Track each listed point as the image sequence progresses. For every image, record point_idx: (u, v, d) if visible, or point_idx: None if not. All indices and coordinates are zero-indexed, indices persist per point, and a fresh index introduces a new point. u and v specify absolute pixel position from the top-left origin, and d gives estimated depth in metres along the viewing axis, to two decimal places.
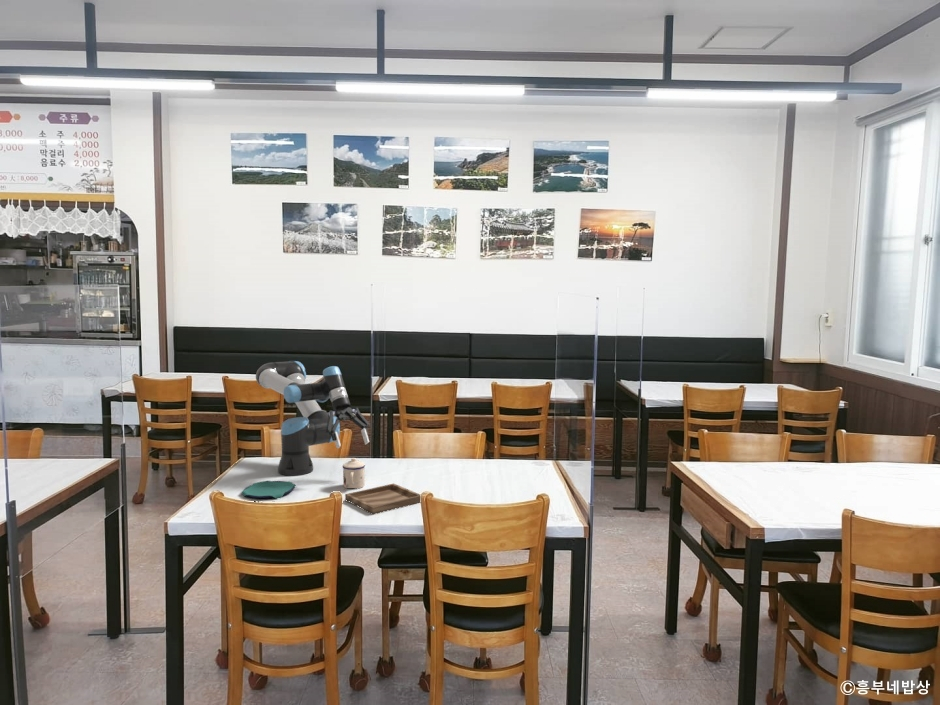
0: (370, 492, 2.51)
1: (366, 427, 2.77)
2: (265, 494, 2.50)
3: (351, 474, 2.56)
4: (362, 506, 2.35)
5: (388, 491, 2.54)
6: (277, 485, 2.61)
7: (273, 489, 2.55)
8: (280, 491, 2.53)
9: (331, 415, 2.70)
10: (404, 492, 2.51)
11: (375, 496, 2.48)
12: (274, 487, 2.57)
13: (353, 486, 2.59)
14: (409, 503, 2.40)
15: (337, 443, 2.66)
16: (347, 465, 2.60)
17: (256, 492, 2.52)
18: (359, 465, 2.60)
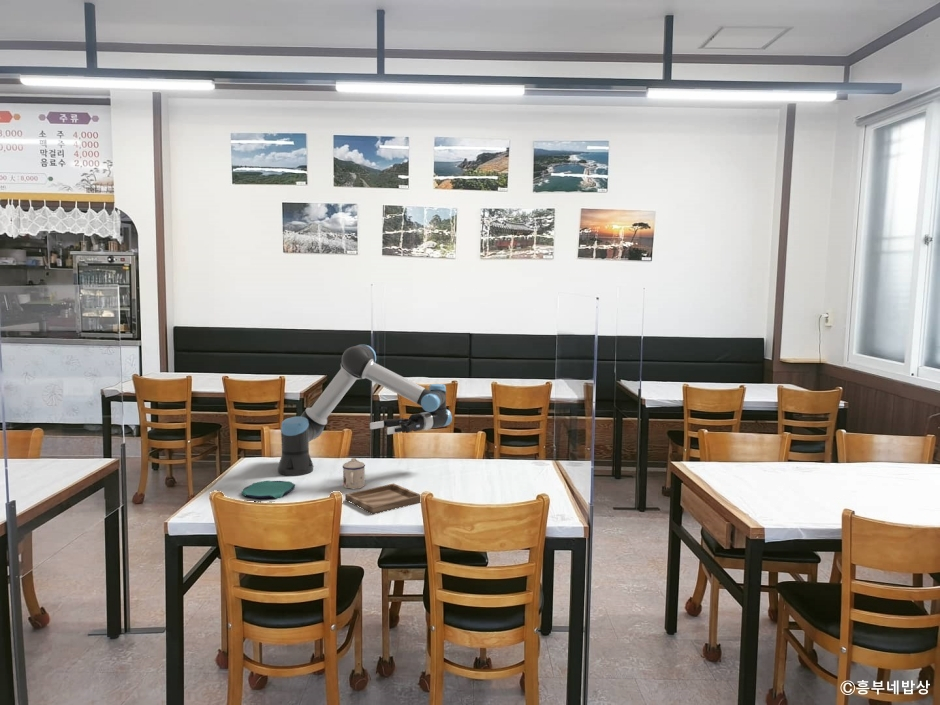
0: (370, 492, 2.51)
1: None
2: (265, 494, 2.50)
3: (351, 474, 2.56)
4: (362, 506, 2.35)
5: (388, 491, 2.54)
6: (277, 485, 2.61)
7: (273, 489, 2.56)
8: (279, 491, 2.53)
9: None
10: (404, 492, 2.51)
11: (375, 496, 2.48)
12: (274, 487, 2.58)
13: (353, 486, 2.59)
14: (409, 503, 2.40)
15: (391, 431, 2.63)
16: (347, 465, 2.60)
17: (256, 492, 2.52)
18: (359, 465, 2.60)
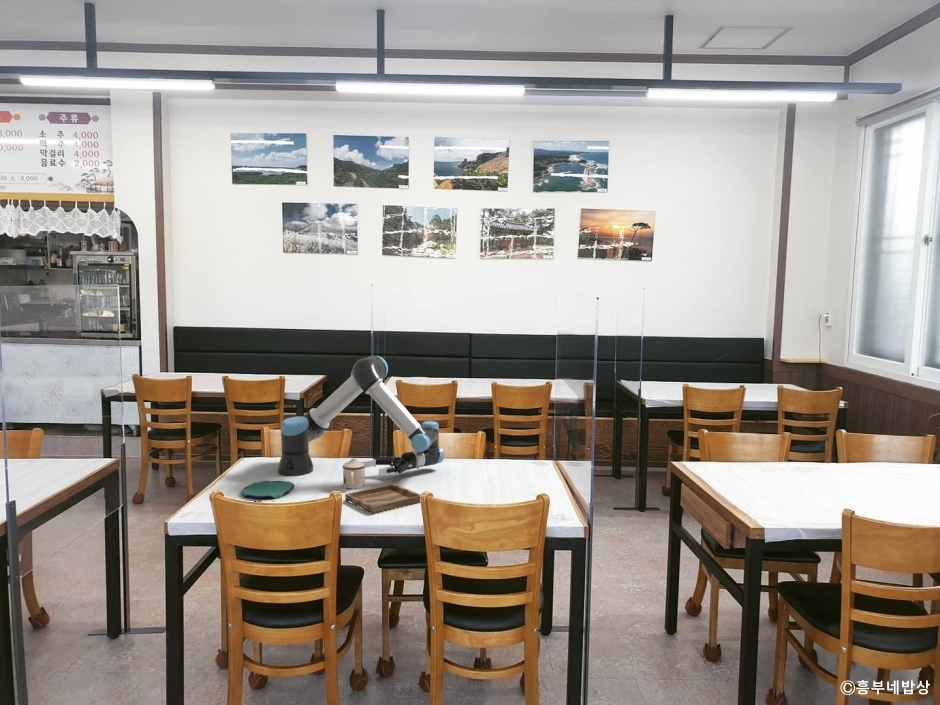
0: (370, 492, 2.51)
1: None
2: (264, 494, 2.50)
3: (351, 474, 2.56)
4: (362, 506, 2.35)
5: (388, 491, 2.54)
6: (276, 485, 2.61)
7: (272, 489, 2.56)
8: (279, 491, 2.53)
9: None
10: (404, 492, 2.51)
11: (375, 496, 2.48)
12: (273, 487, 2.58)
13: (353, 486, 2.59)
14: (409, 503, 2.40)
15: (383, 472, 2.62)
16: (347, 465, 2.60)
17: (256, 492, 2.52)
18: (359, 465, 2.60)
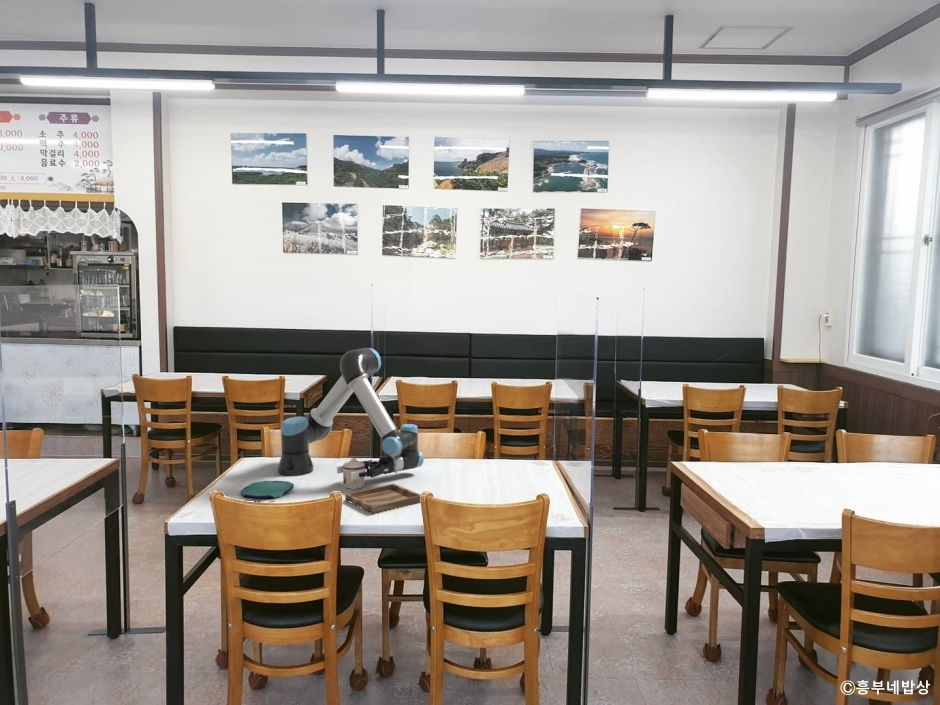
0: (370, 492, 2.51)
1: None
2: (264, 494, 2.50)
3: None
4: (362, 506, 2.35)
5: (388, 491, 2.54)
6: (275, 485, 2.61)
7: (272, 489, 2.56)
8: (279, 491, 2.53)
9: None
10: (404, 492, 2.51)
11: (375, 496, 2.48)
12: (273, 487, 2.58)
13: (353, 486, 2.59)
14: (409, 503, 2.40)
15: (355, 476, 2.55)
16: (347, 465, 2.60)
17: (255, 492, 2.52)
18: (359, 465, 2.60)
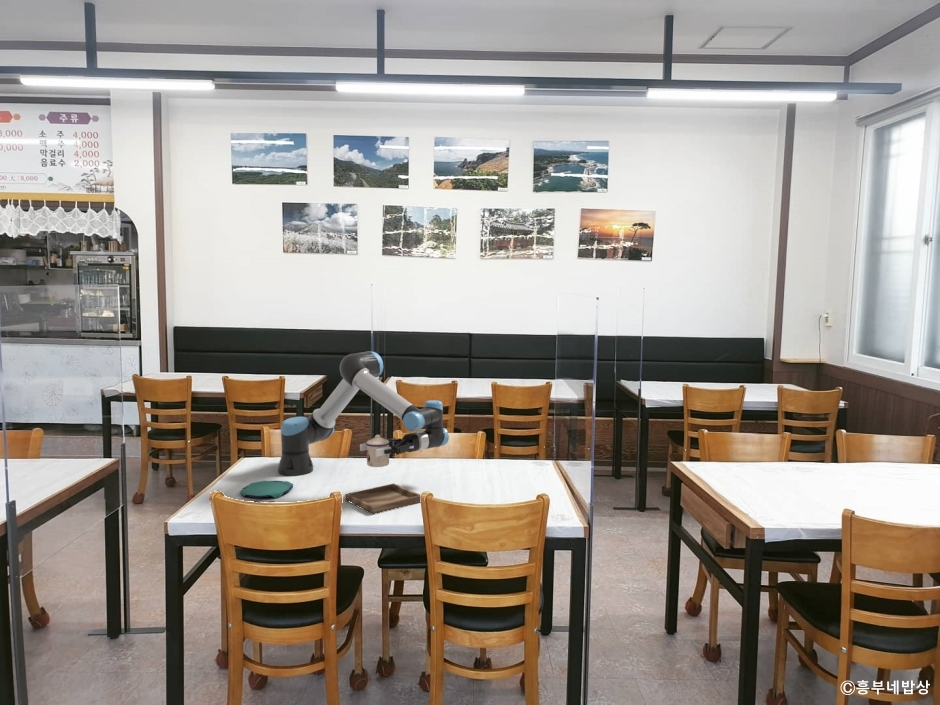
0: (370, 492, 2.51)
1: None
2: (264, 494, 2.50)
3: None
4: (362, 506, 2.35)
5: (388, 491, 2.54)
6: (275, 485, 2.61)
7: (271, 489, 2.56)
8: (278, 491, 2.54)
9: (408, 450, 2.51)
10: (404, 492, 2.51)
11: (375, 496, 2.48)
12: (272, 487, 2.58)
13: (378, 464, 2.46)
14: (409, 503, 2.40)
15: (380, 453, 2.43)
16: (371, 442, 2.47)
17: (254, 492, 2.52)
18: (384, 442, 2.47)
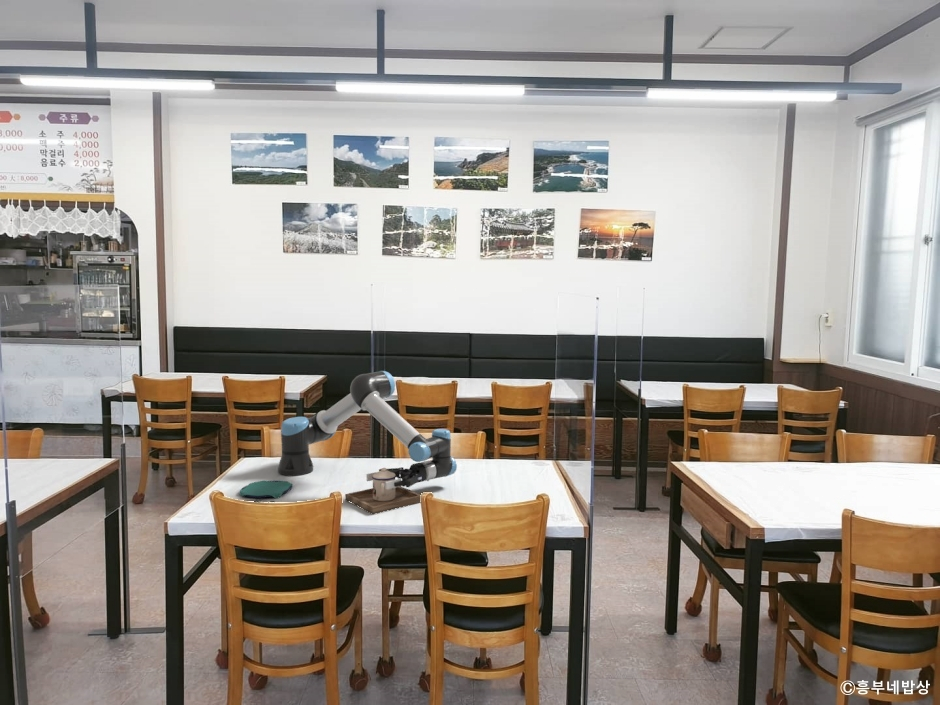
0: (370, 492, 2.51)
1: None
2: (263, 494, 2.50)
3: (382, 485, 2.39)
4: (362, 506, 2.35)
5: None
6: (274, 485, 2.61)
7: (270, 489, 2.56)
8: (277, 491, 2.54)
9: None
10: (404, 492, 2.51)
11: None
12: (271, 487, 2.58)
13: (384, 498, 2.42)
14: (409, 503, 2.40)
15: (390, 486, 2.37)
16: (377, 476, 2.42)
17: (254, 492, 2.52)
18: (390, 475, 2.43)
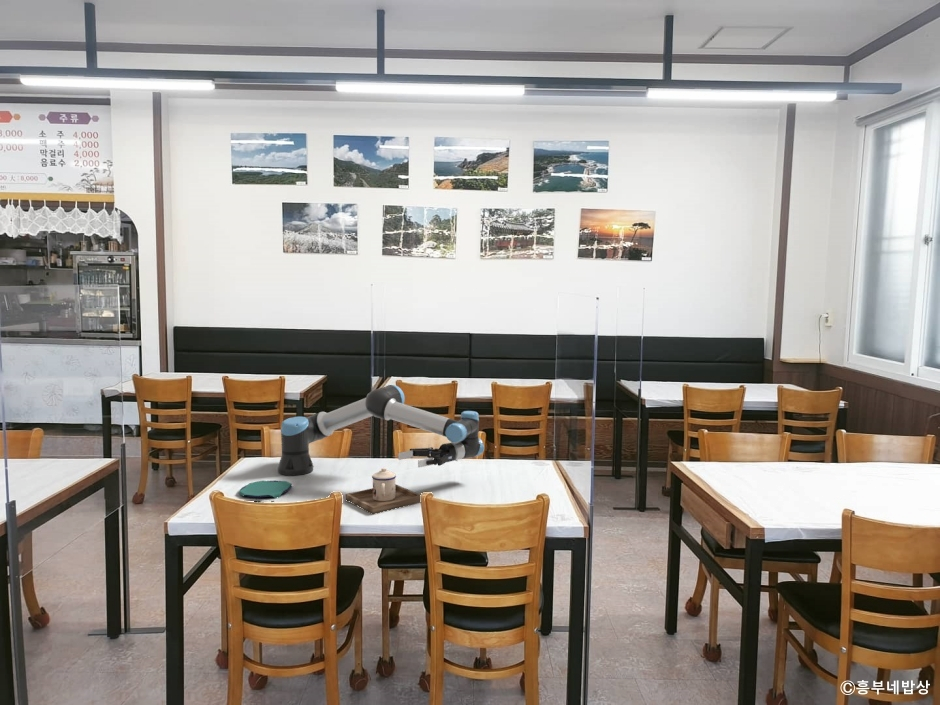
0: (370, 492, 2.51)
1: None
2: (263, 494, 2.50)
3: (382, 485, 2.39)
4: (362, 506, 2.35)
5: None
6: (273, 485, 2.61)
7: (270, 488, 2.56)
8: (277, 490, 2.54)
9: None
10: (404, 492, 2.51)
11: None
12: (270, 487, 2.58)
13: (384, 499, 2.42)
14: (409, 503, 2.40)
15: (422, 464, 2.46)
16: (377, 476, 2.42)
17: (253, 492, 2.52)
18: (390, 475, 2.43)
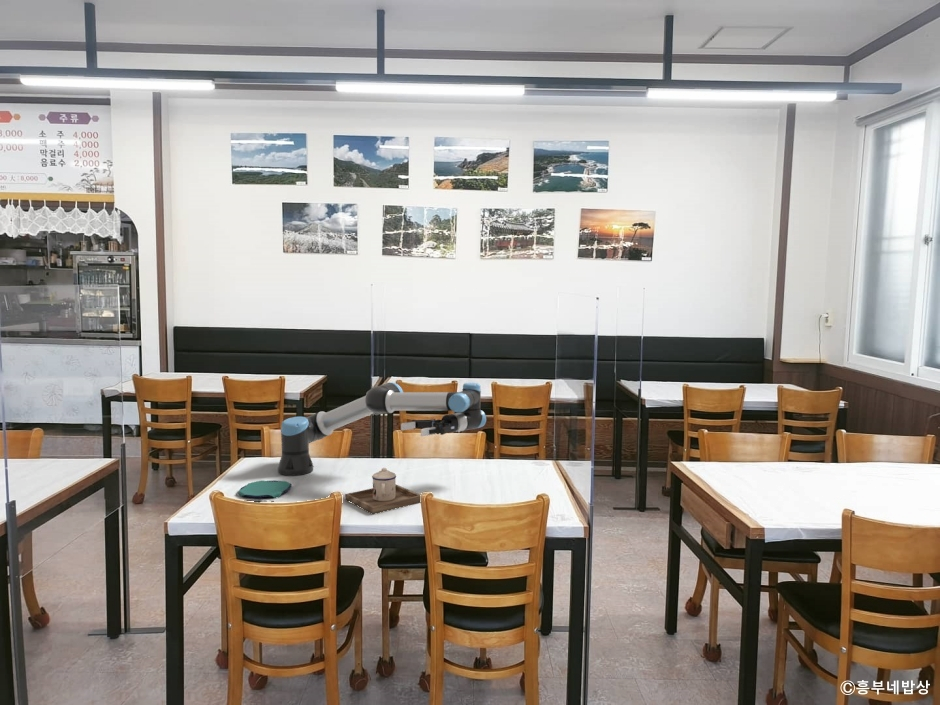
0: (370, 492, 2.51)
1: None
2: (262, 493, 2.50)
3: (382, 485, 2.39)
4: (362, 506, 2.35)
5: None
6: (272, 484, 2.61)
7: (269, 488, 2.56)
8: (277, 490, 2.54)
9: None
10: (404, 492, 2.51)
11: None
12: (270, 487, 2.58)
13: (384, 499, 2.42)
14: (409, 503, 2.40)
15: (425, 433, 2.46)
16: (377, 476, 2.42)
17: (253, 492, 2.52)
18: (390, 476, 2.43)
